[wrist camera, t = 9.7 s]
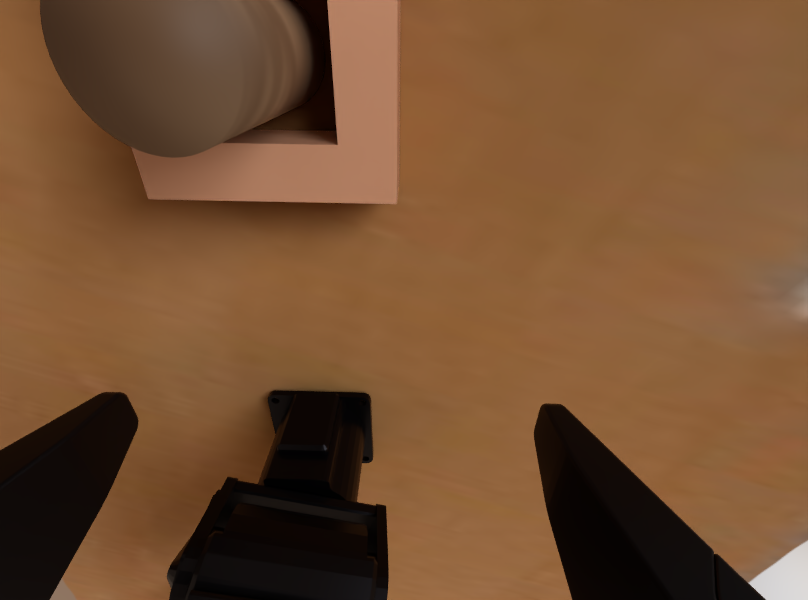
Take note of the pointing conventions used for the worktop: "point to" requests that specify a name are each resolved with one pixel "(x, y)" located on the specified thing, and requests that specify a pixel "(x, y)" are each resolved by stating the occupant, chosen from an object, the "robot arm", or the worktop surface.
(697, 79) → the worktop surface
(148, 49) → the peg
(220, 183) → the socket block
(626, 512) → the robot arm
